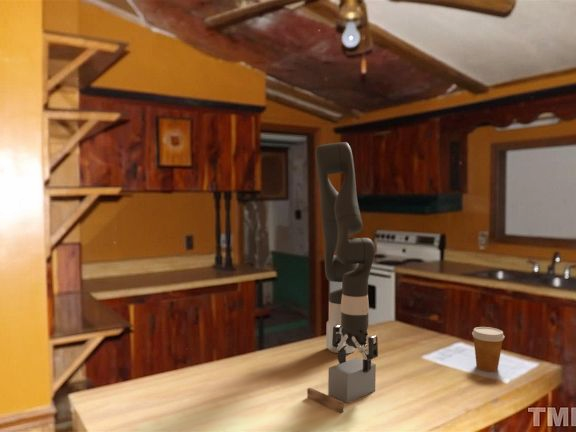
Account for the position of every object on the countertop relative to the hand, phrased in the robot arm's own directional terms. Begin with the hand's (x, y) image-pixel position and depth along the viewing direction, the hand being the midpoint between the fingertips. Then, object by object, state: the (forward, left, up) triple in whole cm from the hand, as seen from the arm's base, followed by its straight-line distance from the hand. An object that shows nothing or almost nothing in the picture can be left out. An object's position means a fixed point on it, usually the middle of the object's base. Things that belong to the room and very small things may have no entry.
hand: (354, 367), depth 135 cm
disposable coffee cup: (+16, +46, -7) cm, 50 cm away
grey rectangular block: (0, -1, -7) cm, 7 cm away
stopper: (0, -12, -7) cm, 14 cm away
